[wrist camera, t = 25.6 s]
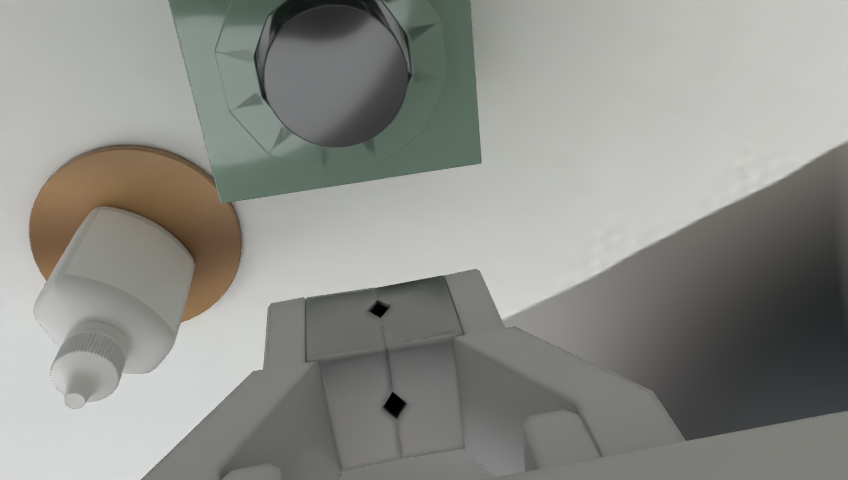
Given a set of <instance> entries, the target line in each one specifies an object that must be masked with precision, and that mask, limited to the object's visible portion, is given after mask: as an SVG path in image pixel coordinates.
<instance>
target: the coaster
mask: <svg viewBox="0 0 848 480" xmlns="http://www.w3.org/2000/svg"><path fill="white" fill-rule="evenodd" d="M102 206H108V207H114V208H119V209H123V210H126V211H129V212H132V213H135V214H138V215H140V216H143V217H145V218H147V219H149V220H151V221H153V222H155V223H156V224H158V225H160V226H161V227H163V228H164V229H166V230H167V231H168V232H169V233H171V234H172V235H173V236H174V237H175V238H176V239H177V240H179V241H180V242H181V243H182V245H183V246H184V247H185V248H186V249H187V250H188V252H189V253H190V254H191V256H192V257H193V260H194V264H195V268H194V272H193V276H192V280H191V284H190V288H189V292H188V296H187V300H186V304H185V308H184V311H183V315H182V319H181V322H184V321H187V320H189V319H191V318H193V317H195V316H197V315H199V314H201V313H202V312H204V311H205V310H207V309H209V308H210V307H211V306H212V305H213V304H215V303H216V302H217V301H218V300H219V299H220V298H221V297H222V295H223V294H224V293H225V292H226V291H227V289H228V287H229V286H230V284H231V283H232V281H233V279H234V277H235V274H236V272H237V269H238V265H239V262H240V254H241V247H242V244H241V230H240V224H239V221H238V218H237V215H236V212H235V210H234V208H233V206H232V204H231V202H227V203H220V200H219V196H218V192H217V188H216V184H215V181H214V180H213V179H212V178H211V177H210V176H209V175H207V174H206V173H205V172H204V171H203V170H201V169H200V168H198V167H197V166H195V165H194V164H192V163H191V162H189V161H187V160H185V159H183V158H181V157H179V156H176V155H174V154H171V153H169V152H166V151H162V150H159V149H155V148H150V147H143V146H129V145H123V146H111V147H106V148H101V149H96V150H93V151H90V152H88V153H85V154H82V155H80V156H78V157H76V158H74V159H72V160H71V161H69V162H68V163H66V164H65V165H64V166H62V167H61V168H60V169H59V170H58V171H56V172H55V173H54V174H53V175H52V176H51V177H50V179H49V180H48V181H47V183H46V184H45V185H44V187H43V188H42V189H41V191H40V192H39V194H38V196H37V198H36V200H35V202H34V205H33V208H32V211H31V216H30V222H29V239H30V245H31V250H32V253H33V256H34V259H35V262H36V264H37V266H38V268H39V270H40V272H41V273H42V275H43V277H44V278H45V280H46V281H47V280H48V278H49V277H50V275H51V273H52V272H53V270H54V268H55V266H56V265H57V263H58V261H59V260H60V258H61V256H62V255H63V253H64V251H65V250H66V248H67V246H68V245H69V243H70V241H71V240H72V238H73V236H74V235H75V233H76V231H77V230H78V228H79V227H80V225H81V224H82V223H83V221H84V220H85V218H86V217H87V216H88V214H89V213H90V212H91V211H92V210H93V209H95V208H97V207H102Z"/></svg>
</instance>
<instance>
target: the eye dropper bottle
mask: <svg viewBox="0 0 848 480" xmlns="http://www.w3.org/2000/svg"><path fill="white" fill-rule="evenodd" d="M194 268H195V264H194V260H193V257H192V256H191V254H190V253H189V252H188V250H187V249H186V248H185V247H184V246H183V245H182V243H181V242H180V241H179V240H177V239H176V238H175V237H174V236H173V235H172V234H171V233H169V232H168V231H167V230H166V229H164V228H163V227H161V226H160V225H158V224H156V223H155V222H153V221H151V220H149V219H147V218H145V217H143V216H140V215H138V214H135V213H132V212H129V211H126V210H123V209H119V208H114V207H108V206H102V207H97V208H95V209H93V210H92V211H91V212H90V213H89V214H88V216H87V217H86V218H85V220H84V221H83V223H82V224H81V225H80V227H79V228H78V230H77V231H76V233H75V235H74V236H73V238H72V240H71V241H70V243H69V245H68V246H67V248H66V250H65V251H64V253H63V255H62V256H61V258H60V260H59V261H58V263H57V265H56V266H55V268H54V270H53V272H52V273H51V275H50V277H49V278H48V280H47V282H46V283H45V285H44V287H43V289H42V290H41V292H40V294H39V296H38V298H37V300H36V302H35V305H34V309H33V313H34V316H35V319H36V321H37V322H38V324H39V325H40V326H41V328H42V329H43V330H44V332H45V333H46V334H47V335H48V336H49V337H50V338H51V339H52V340H53V341H54V342H55V343H56V344H57V345H58V346H59V347H60V350H59V352H58V354H57V356H56V358H55V360H54V362H53V364H52V366H51V369H50V370H51V371H50V373H51V374H50V376H51V379H52V380H51V381H52V382H53V385H54V386H55V387H56V389H57V390H58V391H59V392H60V393H61V394H63V395H64V396H65V398H64V402H65V404H66V406H68V407H69V408H72V409H79V408H81V407H83V406H84V405H85V403H86V402H94V401H98V400H101V399H103V398H106V397H107V396H109V395H111V394H112V393H113V392H114V390H115V389H116V388H117V386H118V384H119V381H120V378H121V375H122V373H129V374H143V373H149V372H151V371H152V370H154V369H155V368H156V367H157V366H158V365H159V364H160V363H161V362H162V361H163V359H164V358H165V357H166V356H167V354H168V353H169V352H170V350H171V349H172V347H173V345H174V343H175V339H176V336H177V333H178V330H179V326H180V323H181V319H182V315H183V311H184V308H185V304H186V300H187V296H188V292H189V288H190V284H191V280H192V276H193V272H194Z"/></svg>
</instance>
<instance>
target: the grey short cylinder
mask: <svg viewBox="0 0 848 480" xmlns="http://www.w3.org/2000/svg"><path fill="white" fill-rule="evenodd" d="M263 83H264V90H265V93H266V97H267V100H268V102H269V104H270V107H271V109H272V110H273V112H274V114H275V115H276V117H277V118H278V119H279V120H280V122H281V123H282V124H283V125H284V126H285V127H286V128H287V129H288V130H290V131H291V132H292V133H293V134H295V135H296V136H298V137H300V138H301V139H303V140H305V141H308V142H310V143H313V144H316V145H320V146H325V147H348V146H353V145H357V144H360V143H363V142H366V141H368V140H370V139H372V138H373V137H375V136H376V135H378V134H379V133H381V132H382V131H383V130H384V129H385V128H387V127H388V126H389V124H390V123H391V122H392V121H393V120H394V118H395V117H396V115H397V114H398V112H399V111H400V109H401V107H402V105H403V102H404V99H405V96H406V92H407V86H408V68H407V62H406V58H405V55H404V52H403V50H402V47H401V45H400V43H399V41H398V39H397V38H396V36H395V34H394V32H393V30H392V29H391V27H390V26H389V24H388V22H387V21H386V20H385V19H384V18H383V16H382V15H381V14H380V13H379V12H377V11H376V10H375V9H374V8H373V7H371V6H370V5H368V4H367V3H365V2H363V1H361V0H303V1H301V2H299V3H297V4H296V5H294V6H293V7H291V8H290V9H289V10H288V11H287V12H286V13H285V14H284V15H283V16H282V17H281V18H280V19H279V21H278V22H277V23H276V25H275V27H274V28H273V30H272V32H271V35H270V37H269V40H268V44H267V48H266V54H265V60H264V67H263Z"/></svg>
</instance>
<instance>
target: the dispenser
mask: <svg viewBox="0 0 848 480" xmlns="http://www.w3.org/2000/svg"><path fill="white" fill-rule="evenodd" d="M301 1H303V0H169V4H170V8H171V12H172V16H173V20H174V24H175V28H176V31H177V35H178V39H179V43H180V47H181V51H182V55H183V59H184V63H185V67H186V71H187V75H188V78H189V82H190V86H191V90H192V94H193V98H194V102H195V106H196V110H197V114H198V118H199V122H200V125H201V129H202V133H203V137H204V141H205V145H206V149H207V153H208V157H209V161H210V165H211V169H212V172H213V176H214V180H215V184H216V188H217V192H218V196H219V200H220V203H227V202H234V201H240V200H247V199H253V198H260V197H266V196H273V195H279V194H286V193H292V192H299V191H305V190H312V189H318V188H325V187H331V186H338V185H344V184H351V183H357V182H363V181H370V180H376V179H383V178H389V177H396V176H402V175H409V174H415V173H422V172H428V171H435V170H441V169H448V168H454V167H461V166H467V165H474V164H480V163H481V148H480V134H479V120H478V106H477V92H476V77H475V63H474V49H473V35H472V21H471V7H470V0H361V1H363V2H365V3H367V4H368V5H370V6H371V7H373V8H374V9H375V10H376V11H377V12H379V13H380V14H381V15H382V16H383V18H384V19H385V20H386V21H387V22H388V24H389V26H390V27H391V29H392V30H393V32H394V34H395V36H396V38H397V39H398V41H399V43H400V45H401V47H402V50H403V52H404V55H405V58H406V62H407V68H408V86H407V92H406V96H405V99H404V102H403V105H402V107H401V109H400V111H399V112H398V114H397V115H396V117H395V118H394V120H393V121H392V122H391V123H390V124H389V126H388V127H387V128H385V129H384V130H383V131H382V132H381V133H379V134H378V135H376V136H375V137H373V138H372V139H370V140H368V141H366V142H363V143H360V144H357V145H353V146H348V147H325V146H320V145H316V144H313V143H310V142H308V141H305V140H303V139H301V138H300V137H298V136H296V135H295V134H293V133H292V132H291V131H290V130H288V129H287V128H286V127H285V126H284V125H283V124H282V123H281V122H280V120H279V119H278V118H277V117H276V115H275V114H274V112H273V110H272V109H271V107H270V104H269V102H268V100H267V97H266V93H265V90H264V83H263V67H264V60H265V54H266V48H267V44H268V40H269V37H270V35H271V32H272V30H273V28H274V27H275V25H276V23H277V22H278V21H279V19H280V18H281V17H282V16H283V15H284V14H285V13H286V12H287V11H288V10H289V9H290V8H291V7H293V6H294V5H296V4H297V3H299V2H301Z"/></svg>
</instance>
